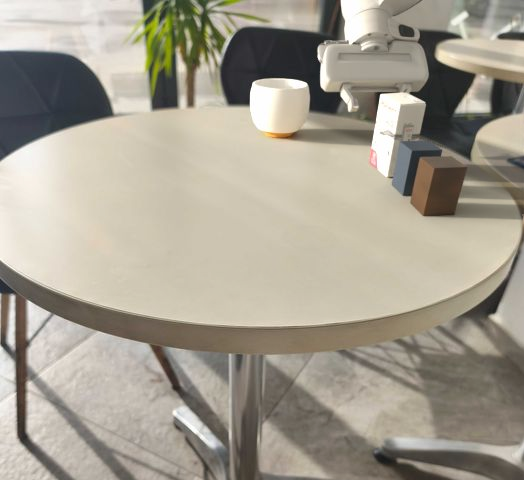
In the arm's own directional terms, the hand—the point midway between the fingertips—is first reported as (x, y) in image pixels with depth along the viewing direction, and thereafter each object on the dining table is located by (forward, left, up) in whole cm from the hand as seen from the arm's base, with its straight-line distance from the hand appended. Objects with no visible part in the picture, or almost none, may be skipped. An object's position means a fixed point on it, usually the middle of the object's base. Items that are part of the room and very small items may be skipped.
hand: (378, 110), depth 92 cm
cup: (+16, -15, -8) cm, 23 cm away
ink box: (0, +9, -8) cm, 12 cm away
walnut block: (0, +27, -8) cm, 29 cm away
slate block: (0, +19, -8) cm, 21 cm away
